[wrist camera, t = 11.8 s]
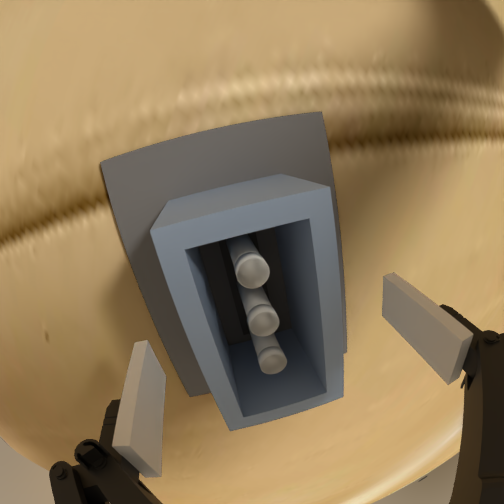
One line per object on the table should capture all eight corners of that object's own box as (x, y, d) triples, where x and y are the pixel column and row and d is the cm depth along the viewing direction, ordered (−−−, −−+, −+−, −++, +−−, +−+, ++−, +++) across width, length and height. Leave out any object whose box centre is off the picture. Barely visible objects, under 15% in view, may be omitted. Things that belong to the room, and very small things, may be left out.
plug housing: (168, 200, 19) (149, 230, 12) (280, 173, 20) (330, 186, 12) (218, 359, 24) (230, 431, 17) (306, 334, 25) (343, 396, 17)
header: (101, 161, 17) (59, 167, 11) (320, 112, 19) (370, 98, 13) (189, 394, 25) (192, 450, 19) (345, 350, 27) (377, 395, 21)
